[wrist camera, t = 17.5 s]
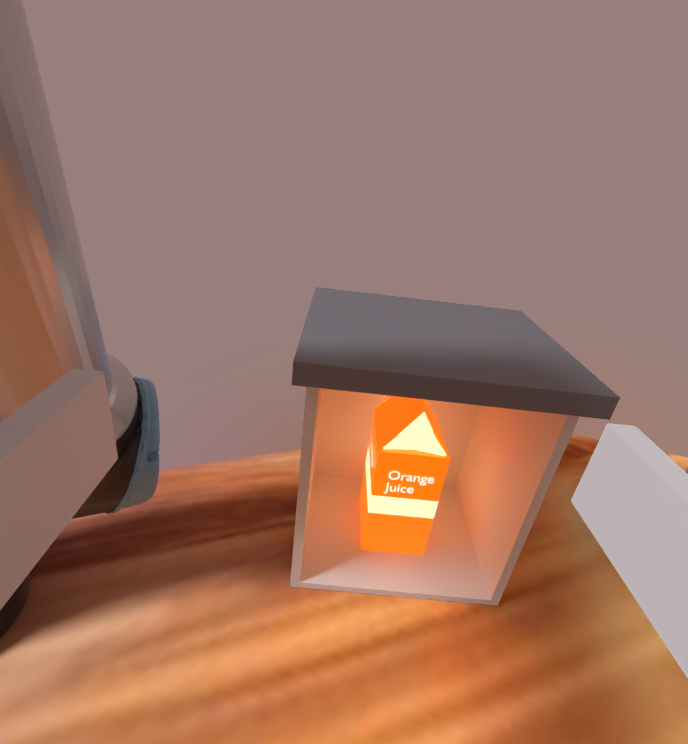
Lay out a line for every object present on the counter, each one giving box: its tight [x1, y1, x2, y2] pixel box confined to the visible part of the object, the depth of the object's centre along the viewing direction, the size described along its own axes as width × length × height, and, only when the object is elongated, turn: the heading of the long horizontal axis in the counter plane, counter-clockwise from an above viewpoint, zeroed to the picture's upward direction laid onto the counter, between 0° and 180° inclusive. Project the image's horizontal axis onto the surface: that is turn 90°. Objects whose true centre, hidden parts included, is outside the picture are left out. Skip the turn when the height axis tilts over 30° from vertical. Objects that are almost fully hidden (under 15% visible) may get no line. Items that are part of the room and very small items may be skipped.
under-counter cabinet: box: [290, 287, 620, 606], centre depth 47 cm, size 25×21×28 cm
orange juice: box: [360, 396, 450, 555], centre depth 49 cm, size 8×9×20 cm
